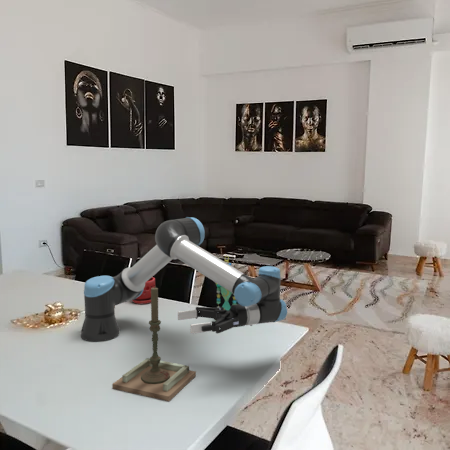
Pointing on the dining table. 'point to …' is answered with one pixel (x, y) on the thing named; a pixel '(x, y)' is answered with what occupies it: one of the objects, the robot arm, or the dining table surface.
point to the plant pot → (146, 292)
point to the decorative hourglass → (225, 294)
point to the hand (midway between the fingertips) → (184, 322)
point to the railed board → (162, 391)
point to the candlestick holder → (155, 346)
